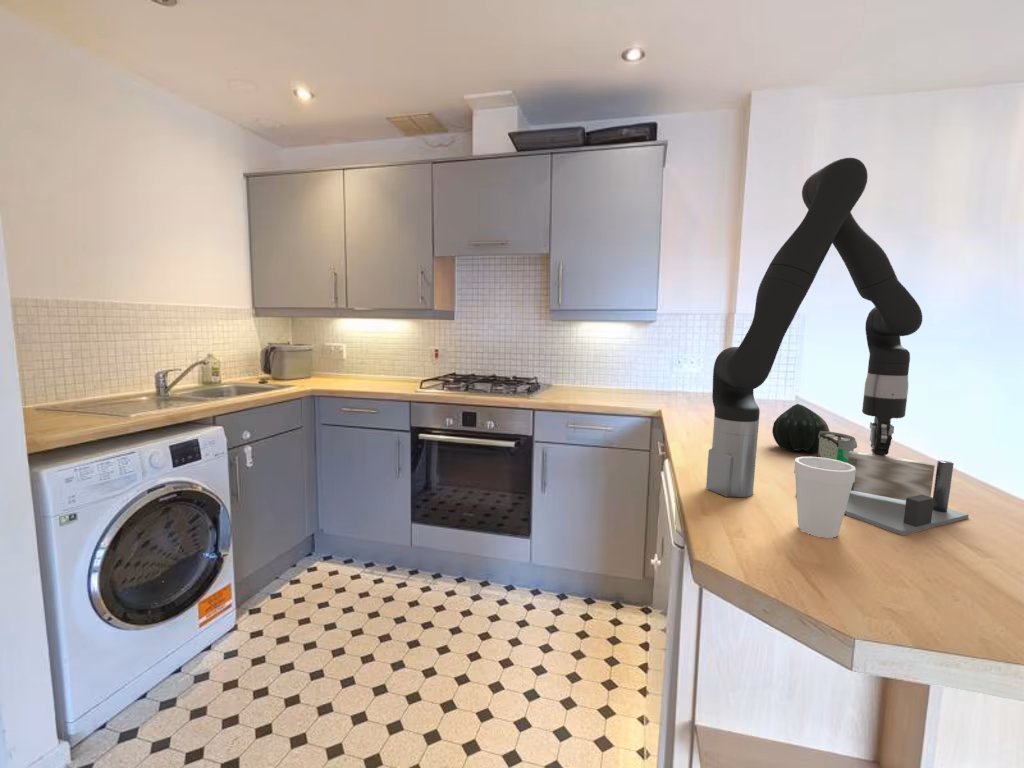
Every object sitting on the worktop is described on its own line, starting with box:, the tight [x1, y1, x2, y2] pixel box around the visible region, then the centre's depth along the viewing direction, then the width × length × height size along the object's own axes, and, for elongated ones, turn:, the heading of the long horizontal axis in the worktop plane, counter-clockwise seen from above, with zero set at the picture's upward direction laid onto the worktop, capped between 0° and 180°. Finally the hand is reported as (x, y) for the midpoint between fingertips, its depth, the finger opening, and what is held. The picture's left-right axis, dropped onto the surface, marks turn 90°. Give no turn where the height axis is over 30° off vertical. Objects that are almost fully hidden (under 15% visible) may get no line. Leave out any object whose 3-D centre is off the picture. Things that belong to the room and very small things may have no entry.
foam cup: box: [793, 456, 856, 539], centre depth 87 cm, size 10×9×13 cm
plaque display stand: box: [844, 460, 970, 536], centre depth 100 cm, size 22×21×11 cm
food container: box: [817, 431, 858, 463], centre depth 123 cm, size 12×6×10 cm, turn 168°
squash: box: [771, 403, 831, 455], centre depth 146 cm, size 14×15×15 cm
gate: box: [848, 450, 936, 501], centre depth 102 cm, size 14×2×9 cm, turn 50°
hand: (876, 470), depth 106 cm, fingers closed
